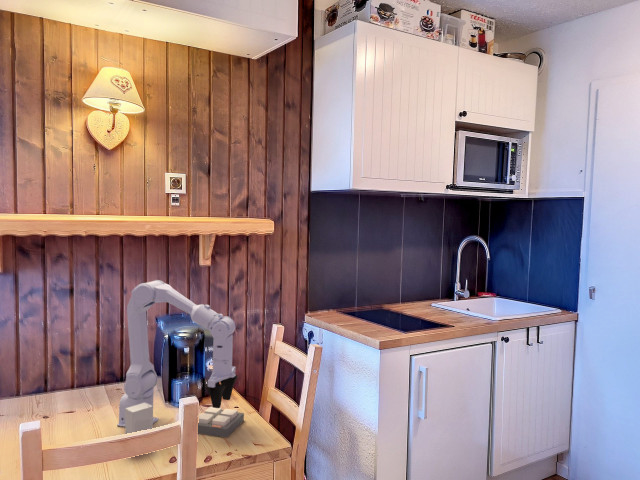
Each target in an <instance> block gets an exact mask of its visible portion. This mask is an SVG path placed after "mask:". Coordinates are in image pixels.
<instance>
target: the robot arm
mask: <svg viewBox="0 0 640 480" xmlns="http://www.w3.org/2000/svg"><path fill="white" fill-rule="evenodd" d="M157 303H158V304H159V303H161V304H162V303H168V304H170V305H172V306H174V307H176V308H177V309H180V310H181V311H183V312H185V313H186V314H189V316H190V319H191V321H192V322H194V323H195V324H197V325H199V326H200V327H202V328H203V329H205V330H207V331H208V332H209V333H210V335H211V336H212V338H213V340H212V341H213V345H212V372H211V373H210V374H211V375H210V377H209V379H208V380H207V382H206V383H205V389H206V390H207V391H208V392H207V393H208V395H209V397H210V400H211V401H210V402H211V407H213V408H221V406H222V400H225V401H230V400H231V398H232V395H233V389H234V386H235V383H236V381H237V380H238V375H237V374H236V366H233V353H234V352H233V348H234V347H233V343H234V342H233V339H234V338H233V337H234V336H233V334H234V332H235V330H236V322H235V320H234V319H233V318H232V317H230V316H227V315H226V316H224V314H223V313H217V312H216V310H213V309H211V305H209V304H204V303H203V304H196V303H194V302H193V301H191V299H189V298H187V297H186V296H185V295H183V294H181V293H180V292H179V291H177V290H176V289H174V287H172V286H171V285H170V284H168V283H165V282H164V281H163V280H159V279H154V280H152V281H147V282H143V283H139V284H137V285H136V286H135V287H134V288H133V289H132V290H131V296H130V298H129V301H128V303H127V306H126V317H127V329H128V330H127V331H128V343H129V359H130V366H129V368H128V370H127V371H126V374H125V376H126V378H125V382H124V385H123V390H124V394H123V395H122V397H121V398H120V400H119V404H118V408H119V409H118V422H117V426H119V427H122V428H123V427H124V428H125V408H128V407H132V406H135V405H138V404H141V403H144V402H145V403H147V404H149V405H151V406H153V407H154V389H155V388H154V387H156V385H157V384H158V380H159V379H158V375H157V372H156V371H155V365H154V364H153V363H152V362H151V361H150V348H149V336H148V322H147V321H148V320H147V319H148V318H147V312H148V310H149V309H151V307H153V305H154V304H157ZM159 420H160V418H158V417H155V416H153V424H155V423H156V422H158V421H159Z"/></svg>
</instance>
